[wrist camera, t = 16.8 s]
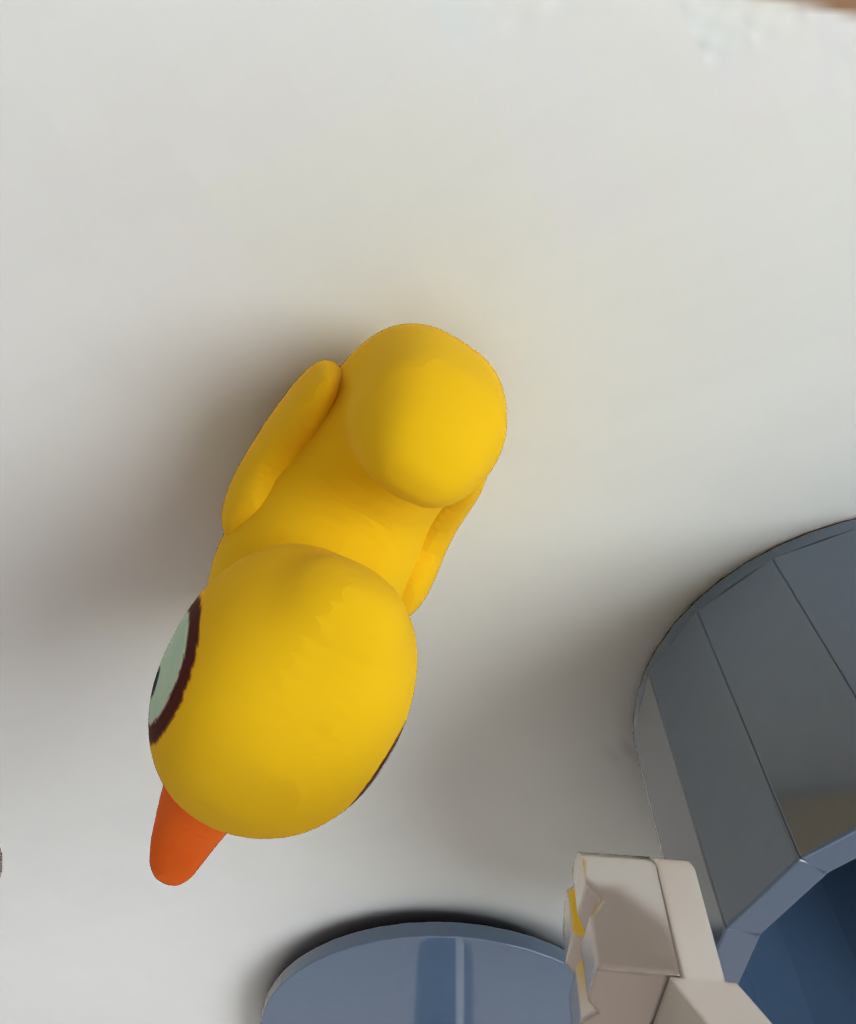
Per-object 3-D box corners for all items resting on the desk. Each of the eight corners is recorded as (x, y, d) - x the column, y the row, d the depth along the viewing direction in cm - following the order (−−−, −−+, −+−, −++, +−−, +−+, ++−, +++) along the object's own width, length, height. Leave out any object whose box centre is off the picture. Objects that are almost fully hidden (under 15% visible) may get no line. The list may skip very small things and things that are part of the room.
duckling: (334, 658, 25) (268, 991, 16) (171, 578, 23) (4, 894, 15) (560, 357, 20) (639, 607, 11) (368, 234, 18) (288, 408, 10)
